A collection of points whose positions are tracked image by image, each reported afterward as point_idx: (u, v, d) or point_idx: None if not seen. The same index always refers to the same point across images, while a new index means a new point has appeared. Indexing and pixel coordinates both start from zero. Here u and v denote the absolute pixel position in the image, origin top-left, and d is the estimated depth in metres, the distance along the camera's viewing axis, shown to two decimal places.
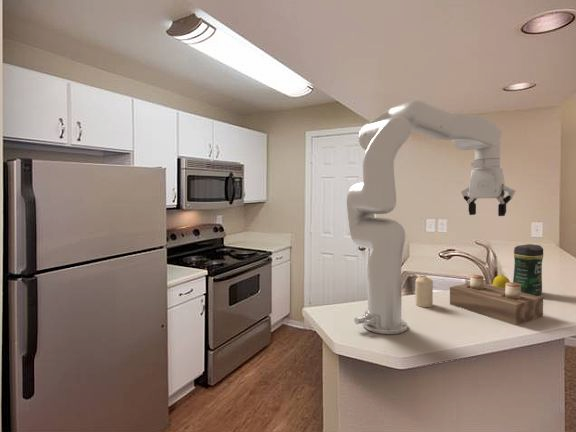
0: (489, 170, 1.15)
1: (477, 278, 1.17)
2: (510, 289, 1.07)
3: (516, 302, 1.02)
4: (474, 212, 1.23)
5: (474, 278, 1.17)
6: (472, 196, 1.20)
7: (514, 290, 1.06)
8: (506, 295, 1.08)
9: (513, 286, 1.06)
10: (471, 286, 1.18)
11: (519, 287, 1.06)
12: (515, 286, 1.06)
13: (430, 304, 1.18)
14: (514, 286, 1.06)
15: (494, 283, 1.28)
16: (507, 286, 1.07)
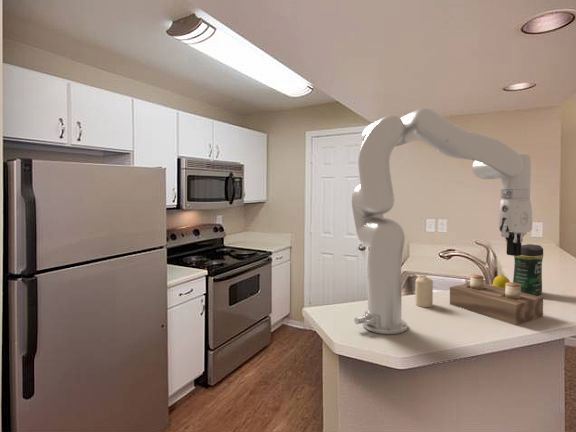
0: (528, 202, 1.05)
1: (477, 278, 1.17)
2: (510, 289, 1.07)
3: (516, 302, 1.02)
4: None
5: (474, 278, 1.17)
6: (516, 231, 1.03)
7: (514, 290, 1.06)
8: (506, 295, 1.08)
9: (513, 286, 1.06)
10: (471, 286, 1.18)
11: (519, 287, 1.06)
12: (515, 286, 1.06)
13: (430, 304, 1.18)
14: (514, 286, 1.06)
15: (494, 283, 1.28)
16: (507, 286, 1.07)
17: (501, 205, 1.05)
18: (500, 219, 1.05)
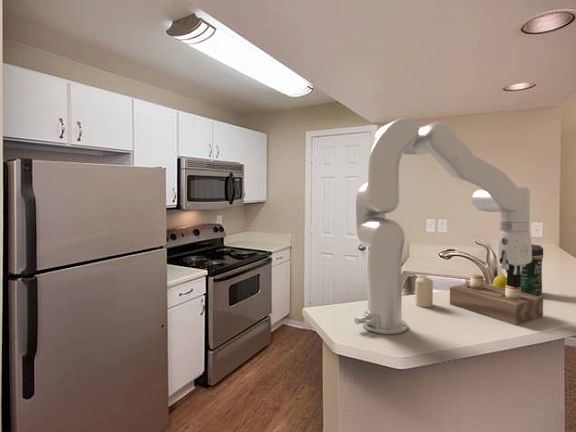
0: (527, 234, 1.05)
1: (477, 278, 1.17)
2: (510, 292, 1.07)
3: (516, 302, 1.02)
4: None
5: (474, 278, 1.17)
6: (516, 264, 1.03)
7: (514, 292, 1.06)
8: (506, 297, 1.08)
9: (513, 288, 1.06)
10: (471, 286, 1.18)
11: (519, 289, 1.06)
12: (515, 288, 1.06)
13: (430, 304, 1.18)
14: (514, 288, 1.06)
15: (494, 283, 1.28)
16: (507, 288, 1.07)
17: (501, 237, 1.06)
18: (500, 251, 1.06)
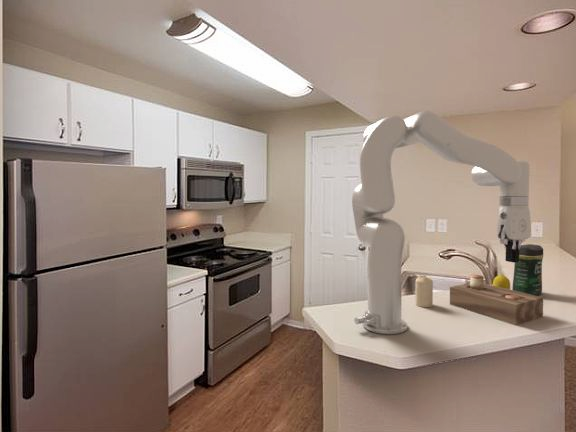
0: (526, 209, 1.05)
1: (477, 278, 1.17)
2: None
3: (516, 302, 1.02)
4: None
5: (474, 278, 1.17)
6: (515, 238, 1.03)
7: None
8: None
9: None
10: (471, 286, 1.18)
11: None
12: (515, 299, 1.06)
13: (430, 304, 1.18)
14: (514, 299, 1.06)
15: (494, 283, 1.28)
16: None
17: (500, 212, 1.06)
18: (499, 226, 1.06)
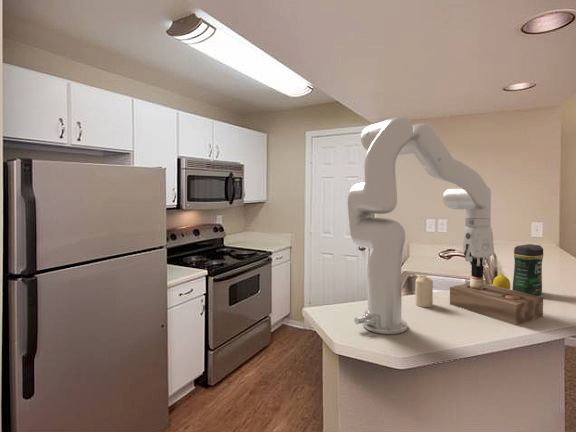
0: (489, 229, 1.16)
1: (477, 279, 1.17)
2: None
3: (516, 302, 1.02)
4: None
5: (474, 279, 1.17)
6: (478, 256, 1.14)
7: None
8: None
9: None
10: (471, 287, 1.18)
11: None
12: (515, 299, 1.06)
13: (430, 304, 1.18)
14: (514, 299, 1.06)
15: (494, 283, 1.28)
16: None
17: (465, 232, 1.17)
18: (464, 245, 1.17)
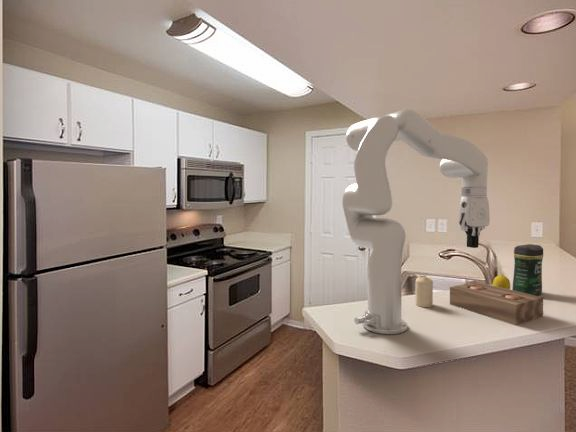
0: (485, 199, 1.16)
1: None
2: None
3: (516, 302, 1.02)
4: None
5: None
6: (473, 225, 1.13)
7: None
8: None
9: None
10: None
11: None
12: (515, 299, 1.06)
13: (430, 304, 1.18)
14: (514, 299, 1.06)
15: (494, 283, 1.28)
16: None
17: (461, 201, 1.16)
18: (460, 214, 1.16)
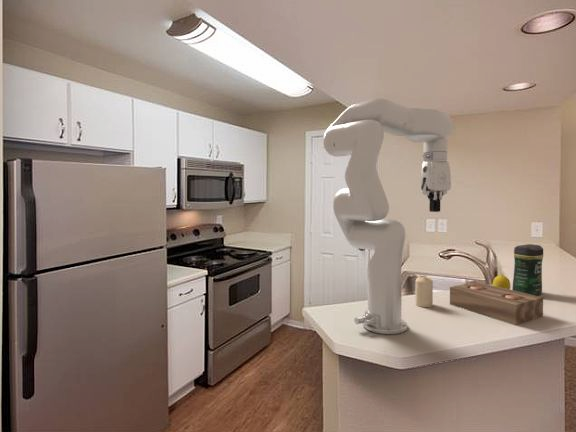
0: (446, 163, 1.18)
1: None
2: None
3: (516, 302, 1.02)
4: None
5: None
6: (434, 189, 1.16)
7: None
8: None
9: None
10: None
11: None
12: (515, 299, 1.06)
13: (430, 304, 1.18)
14: (514, 299, 1.06)
15: (494, 283, 1.28)
16: None
17: (422, 167, 1.19)
18: (421, 179, 1.19)
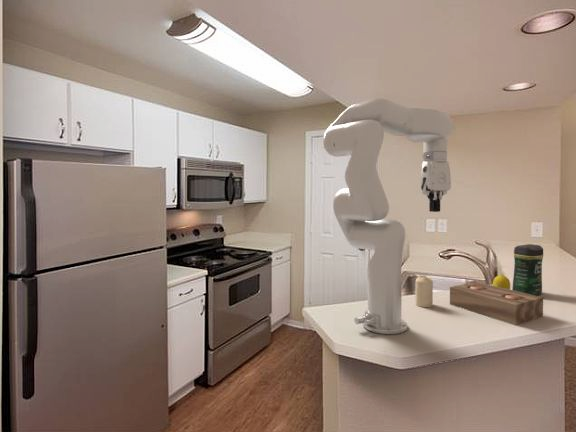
0: (445, 163, 1.18)
1: None
2: None
3: (516, 302, 1.02)
4: None
5: None
6: (434, 189, 1.16)
7: None
8: None
9: None
10: None
11: None
12: (515, 299, 1.06)
13: (430, 304, 1.18)
14: (514, 299, 1.06)
15: (494, 283, 1.28)
16: None
17: (422, 166, 1.19)
18: (421, 179, 1.19)
